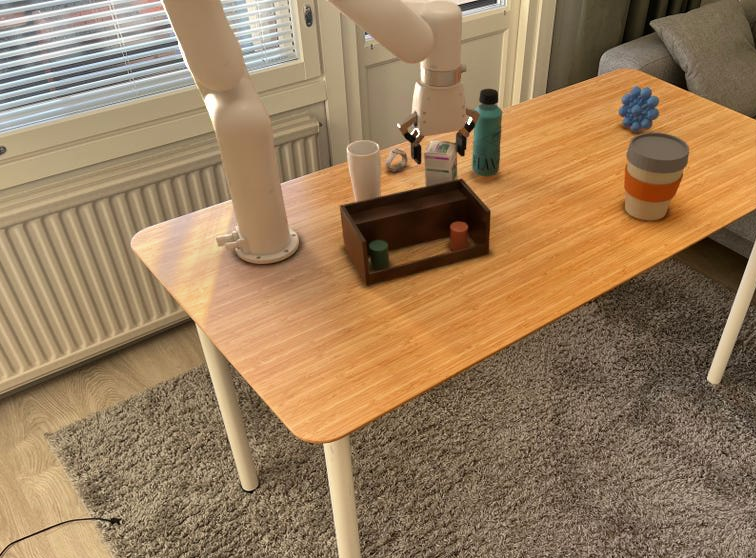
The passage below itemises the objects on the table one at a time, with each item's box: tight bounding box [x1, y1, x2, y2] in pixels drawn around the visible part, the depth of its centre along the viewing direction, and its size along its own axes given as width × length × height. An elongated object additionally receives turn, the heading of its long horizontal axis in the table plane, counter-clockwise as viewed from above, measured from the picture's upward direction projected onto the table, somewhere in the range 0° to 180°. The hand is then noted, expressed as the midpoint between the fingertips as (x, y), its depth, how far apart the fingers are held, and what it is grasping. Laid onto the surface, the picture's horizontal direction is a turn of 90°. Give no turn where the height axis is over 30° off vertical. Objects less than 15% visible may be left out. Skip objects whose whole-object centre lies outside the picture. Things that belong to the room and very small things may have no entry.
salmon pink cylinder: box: [449, 222, 469, 251], centre depth 143 cm, size 4×4×5 cm
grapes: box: [618, 86, 660, 133], centre depth 178 cm, size 12×7×12 cm, turn 42°
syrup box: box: [423, 140, 458, 187], centre depth 149 cm, size 6×6×14 cm
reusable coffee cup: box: [623, 131, 690, 221], centre depth 150 cm, size 13×13×15 cm
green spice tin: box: [369, 240, 390, 272], centre depth 137 cm, size 4×4×5 cm
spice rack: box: [339, 178, 492, 286], centre depth 139 cm, size 26×13×10 cm, turn 115°
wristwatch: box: [384, 147, 408, 173], centre depth 165 cm, size 4×6×5 cm, turn 140°
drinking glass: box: [346, 139, 382, 202], centre depth 148 cm, size 7×7×15 cm
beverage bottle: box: [471, 88, 503, 177], centre depth 158 cm, size 6×7×20 cm
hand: (438, 157), depth 146 cm, fingers open, 9 cm apart
